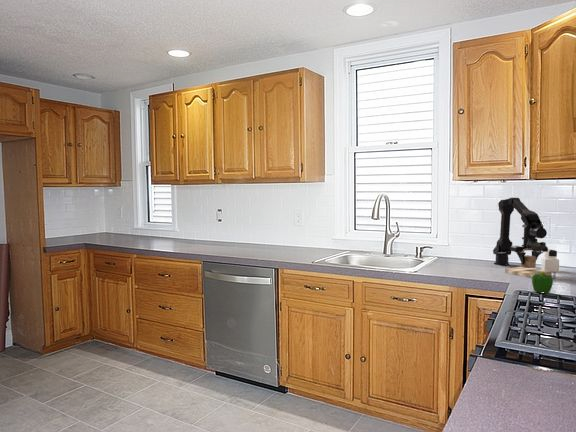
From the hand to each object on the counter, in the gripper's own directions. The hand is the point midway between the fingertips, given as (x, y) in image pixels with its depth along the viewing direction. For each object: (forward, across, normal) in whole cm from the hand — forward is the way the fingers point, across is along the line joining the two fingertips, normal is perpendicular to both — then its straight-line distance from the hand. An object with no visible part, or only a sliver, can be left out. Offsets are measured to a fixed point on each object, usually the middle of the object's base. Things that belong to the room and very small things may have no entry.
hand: (528, 264), depth 237 cm
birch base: (+5, 0, 0) cm, 5 cm away
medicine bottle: (+6, +18, +6) cm, 20 cm away
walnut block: (+2, 0, 0) cm, 2 cm away
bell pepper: (+6, -20, -38) cm, 44 cm away
